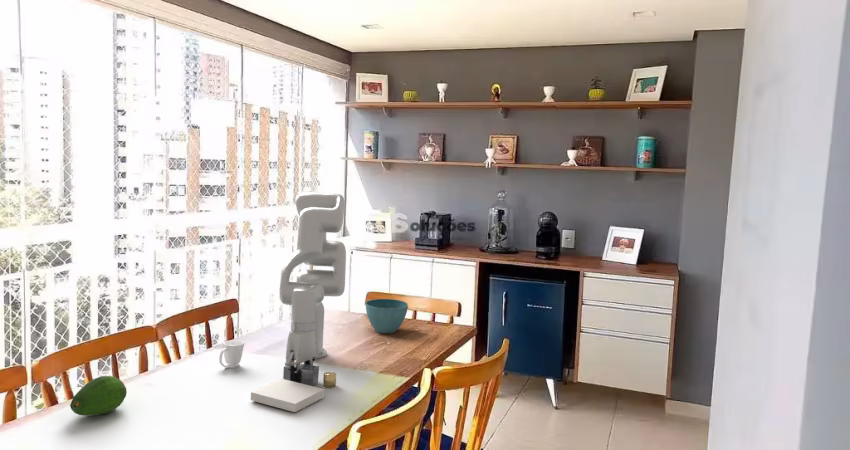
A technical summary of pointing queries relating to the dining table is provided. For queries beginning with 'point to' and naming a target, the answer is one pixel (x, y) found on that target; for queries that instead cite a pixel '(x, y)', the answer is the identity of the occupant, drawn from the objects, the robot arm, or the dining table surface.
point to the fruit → (99, 396)
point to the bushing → (329, 380)
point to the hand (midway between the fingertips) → (300, 380)
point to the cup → (232, 353)
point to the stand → (287, 395)
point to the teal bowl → (386, 314)
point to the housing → (304, 374)
